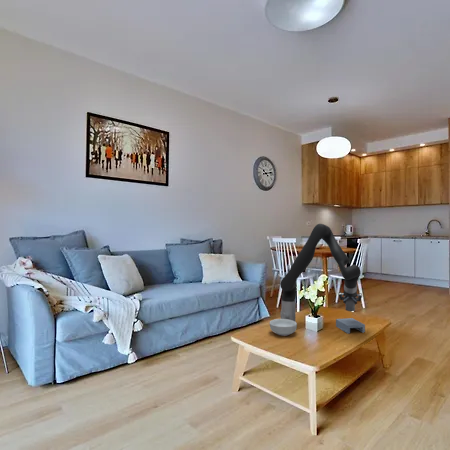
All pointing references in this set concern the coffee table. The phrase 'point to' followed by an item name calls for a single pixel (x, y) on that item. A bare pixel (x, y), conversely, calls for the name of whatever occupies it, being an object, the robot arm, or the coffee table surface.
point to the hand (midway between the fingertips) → (349, 302)
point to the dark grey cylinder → (350, 304)
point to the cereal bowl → (283, 326)
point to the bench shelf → (349, 325)
